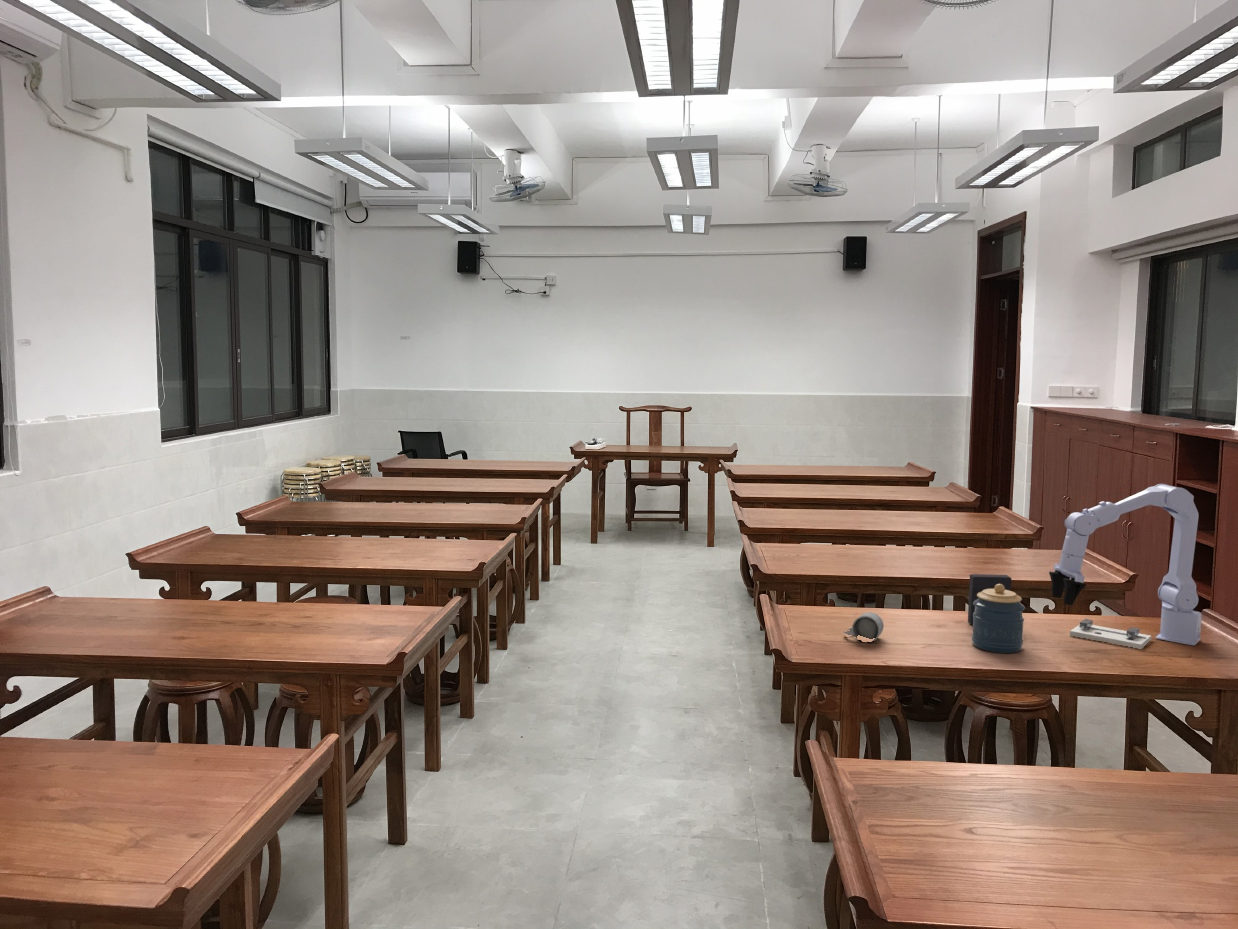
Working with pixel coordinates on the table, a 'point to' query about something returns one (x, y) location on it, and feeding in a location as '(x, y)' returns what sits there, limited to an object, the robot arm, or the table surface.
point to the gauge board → (1111, 636)
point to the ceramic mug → (867, 626)
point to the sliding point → (1086, 624)
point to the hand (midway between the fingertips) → (1062, 600)
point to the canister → (998, 621)
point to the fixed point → (1132, 632)
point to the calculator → (981, 583)
